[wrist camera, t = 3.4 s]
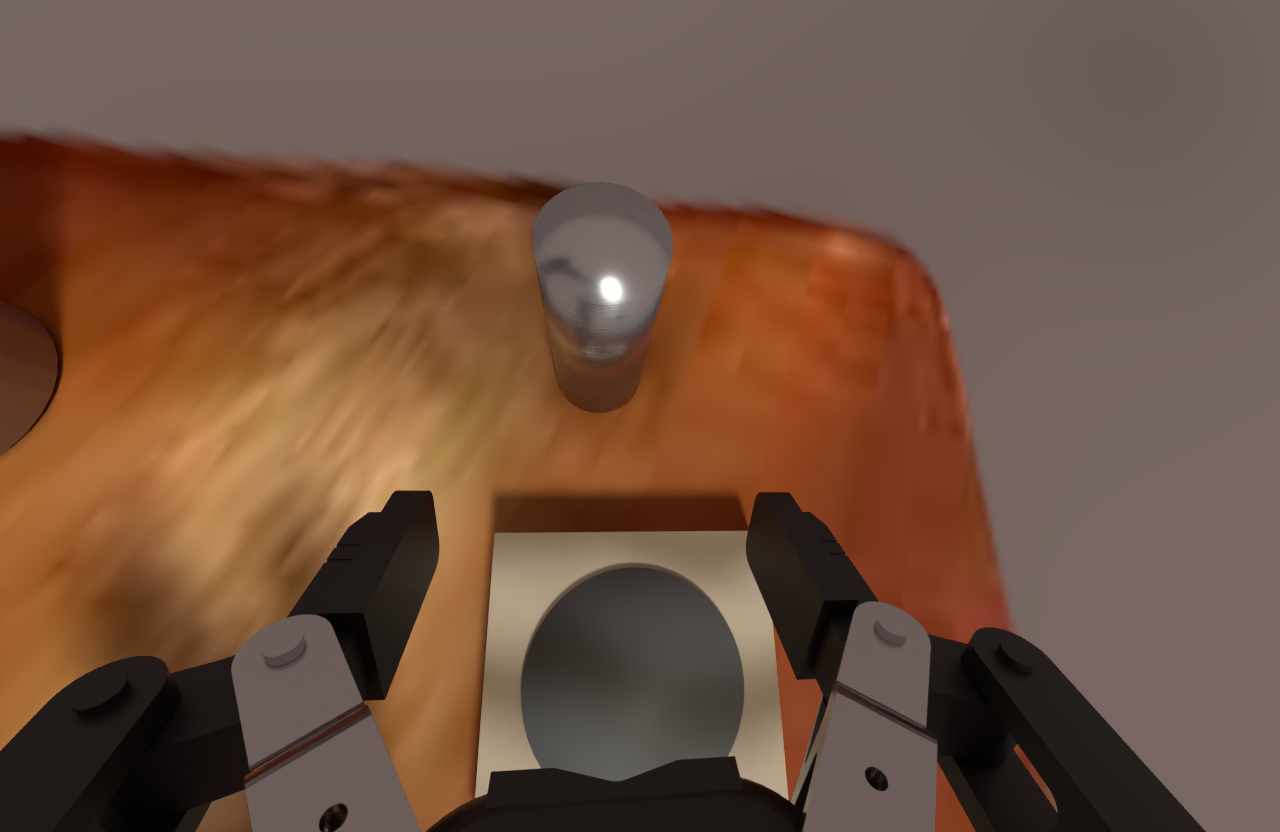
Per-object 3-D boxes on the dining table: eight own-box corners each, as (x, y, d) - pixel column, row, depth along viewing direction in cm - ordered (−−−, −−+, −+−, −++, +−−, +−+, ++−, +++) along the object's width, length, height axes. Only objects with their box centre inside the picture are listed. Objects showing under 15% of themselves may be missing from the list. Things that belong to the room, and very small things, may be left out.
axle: (539, 367, 25) (502, 227, 15) (604, 321, 26) (612, 160, 16) (592, 429, 24) (593, 329, 14) (656, 379, 26) (701, 251, 15)
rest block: (502, 535, 22) (493, 532, 20) (750, 533, 24) (766, 530, 21) (481, 846, 19) (467, 881, 17) (774, 825, 20) (795, 856, 18)
